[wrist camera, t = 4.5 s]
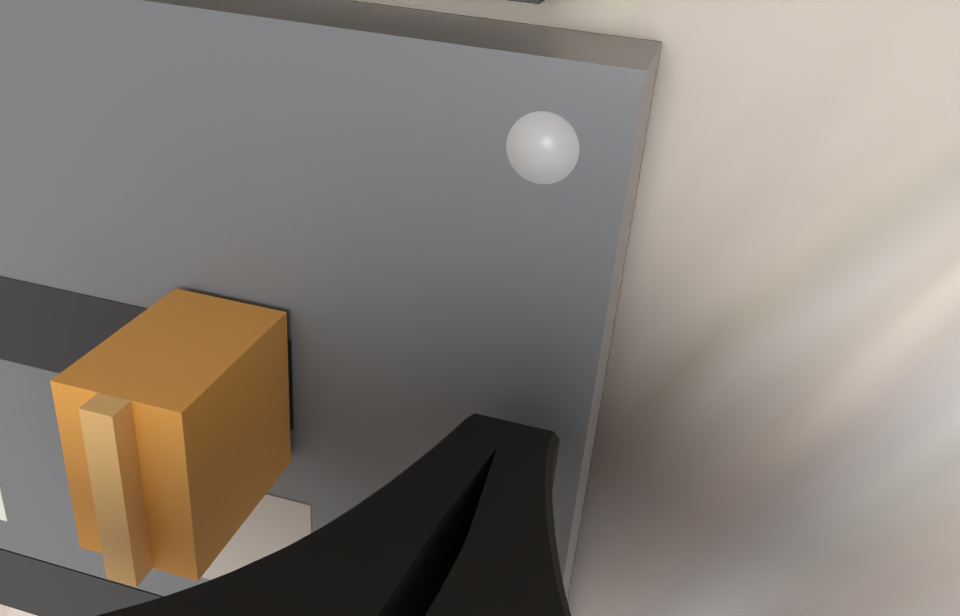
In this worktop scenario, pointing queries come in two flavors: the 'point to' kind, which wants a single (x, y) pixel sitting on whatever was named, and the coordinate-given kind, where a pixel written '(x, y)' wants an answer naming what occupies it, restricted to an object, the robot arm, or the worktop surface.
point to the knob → (175, 432)
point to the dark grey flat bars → (67, 581)
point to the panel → (316, 230)
